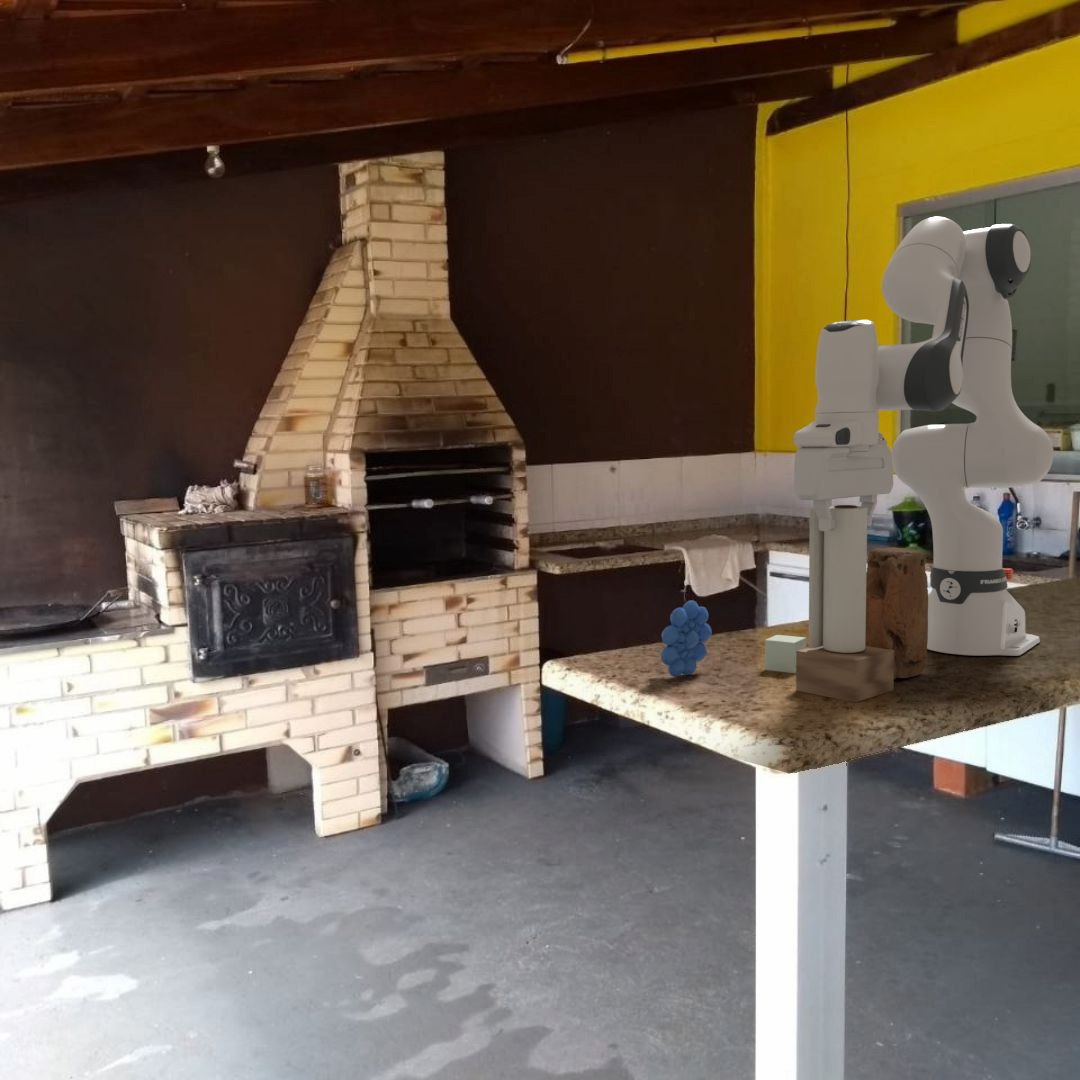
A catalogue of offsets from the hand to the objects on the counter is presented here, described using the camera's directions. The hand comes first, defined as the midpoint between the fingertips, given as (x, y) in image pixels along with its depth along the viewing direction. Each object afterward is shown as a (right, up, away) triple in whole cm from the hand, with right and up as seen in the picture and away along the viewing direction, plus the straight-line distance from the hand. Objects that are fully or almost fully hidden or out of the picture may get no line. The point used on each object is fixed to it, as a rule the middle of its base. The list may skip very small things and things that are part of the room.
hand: (845, 528), depth 153 cm
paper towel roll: (0, -18, +3) cm, 18 cm away
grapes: (-22, -23, +15) cm, 35 cm away
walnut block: (+1, -24, +2) cm, 24 cm away
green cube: (-5, -23, +18) cm, 29 cm away
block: (+10, -23, +11) cm, 28 cm away
